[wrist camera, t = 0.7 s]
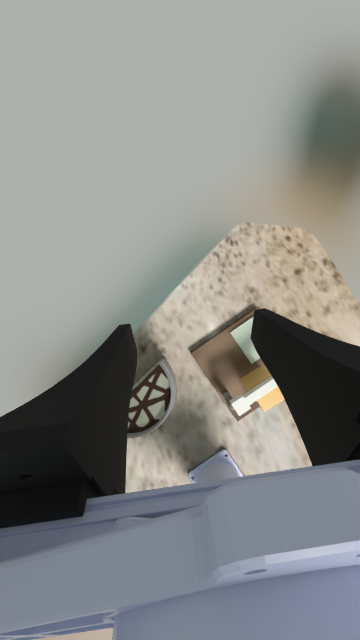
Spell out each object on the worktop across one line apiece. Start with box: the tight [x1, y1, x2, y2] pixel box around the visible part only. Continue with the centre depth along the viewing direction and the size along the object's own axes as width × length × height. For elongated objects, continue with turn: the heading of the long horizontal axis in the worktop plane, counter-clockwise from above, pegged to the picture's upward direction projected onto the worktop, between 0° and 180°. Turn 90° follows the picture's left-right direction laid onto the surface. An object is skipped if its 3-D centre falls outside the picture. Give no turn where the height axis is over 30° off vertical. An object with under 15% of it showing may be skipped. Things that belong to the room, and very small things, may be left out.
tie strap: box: [230, 376, 277, 416], centre depth 28 cm, size 2×13×1 cm, turn 124°
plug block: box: [240, 367, 285, 412], centre depth 32 cm, size 4×4×5 cm
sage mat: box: [230, 317, 260, 364], centre depth 34 cm, size 6×6×1 cm
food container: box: [127, 356, 177, 438], centre depth 31 cm, size 12×6×10 cm, turn 134°
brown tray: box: [191, 307, 268, 421], centre depth 32 cm, size 14×14×6 cm
